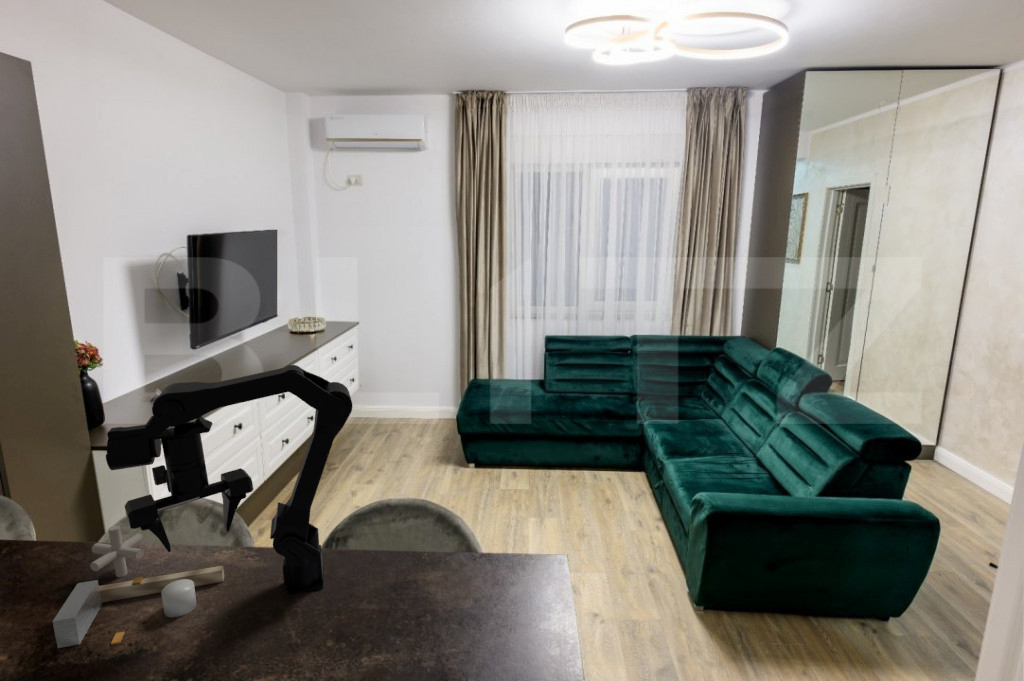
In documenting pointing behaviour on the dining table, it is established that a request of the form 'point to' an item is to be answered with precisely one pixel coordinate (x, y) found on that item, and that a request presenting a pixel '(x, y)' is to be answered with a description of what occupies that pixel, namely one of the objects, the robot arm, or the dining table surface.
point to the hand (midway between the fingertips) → (199, 540)
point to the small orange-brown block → (117, 638)
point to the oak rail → (158, 583)
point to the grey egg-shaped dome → (178, 598)
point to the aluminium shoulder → (77, 614)
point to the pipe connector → (117, 551)
